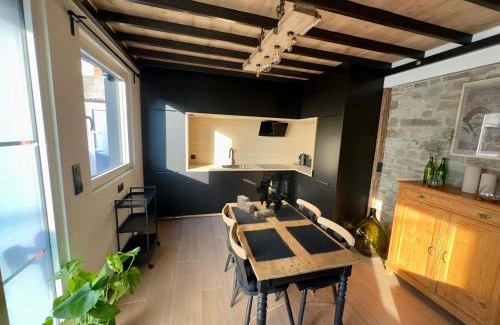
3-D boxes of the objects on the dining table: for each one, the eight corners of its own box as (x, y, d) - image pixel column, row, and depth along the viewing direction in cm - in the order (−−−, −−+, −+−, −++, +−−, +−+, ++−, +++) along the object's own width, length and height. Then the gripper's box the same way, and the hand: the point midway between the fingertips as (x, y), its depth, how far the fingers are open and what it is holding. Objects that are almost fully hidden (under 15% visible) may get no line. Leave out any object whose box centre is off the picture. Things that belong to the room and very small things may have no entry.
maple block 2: (270, 213, 195) (271, 208, 194) (273, 215, 191) (273, 210, 191) (266, 213, 193) (267, 209, 192) (269, 215, 189) (269, 211, 189)
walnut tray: (270, 212, 199) (270, 210, 199) (276, 217, 189) (276, 214, 189) (250, 215, 189) (251, 213, 189) (256, 220, 180) (256, 218, 179)
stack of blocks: (254, 213, 196) (254, 201, 194) (248, 214, 193) (249, 202, 191) (242, 205, 213) (242, 194, 211) (237, 206, 210) (237, 195, 208)
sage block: (264, 214, 192) (265, 209, 191) (267, 216, 188) (267, 211, 187) (260, 214, 190) (260, 210, 189) (263, 216, 186) (263, 212, 185)
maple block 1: (258, 215, 189) (258, 210, 188) (260, 217, 185) (261, 212, 184) (254, 216, 187) (254, 211, 186) (256, 217, 183) (256, 213, 182)
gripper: (253, 189, 190) (252, 204, 192) (263, 195, 173) (261, 212, 176) (263, 188, 195) (262, 203, 197) (273, 194, 178) (272, 210, 181)
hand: (264, 207), depth 188 cm, fingers open, 9 cm apart
